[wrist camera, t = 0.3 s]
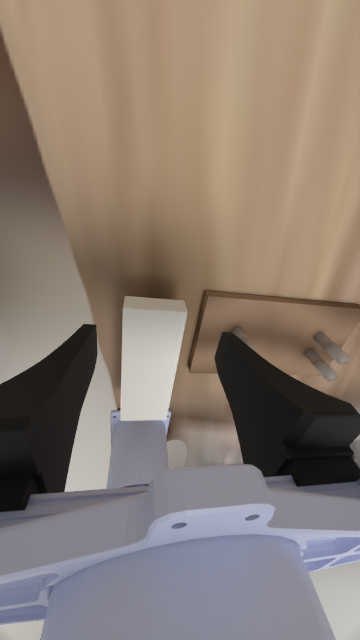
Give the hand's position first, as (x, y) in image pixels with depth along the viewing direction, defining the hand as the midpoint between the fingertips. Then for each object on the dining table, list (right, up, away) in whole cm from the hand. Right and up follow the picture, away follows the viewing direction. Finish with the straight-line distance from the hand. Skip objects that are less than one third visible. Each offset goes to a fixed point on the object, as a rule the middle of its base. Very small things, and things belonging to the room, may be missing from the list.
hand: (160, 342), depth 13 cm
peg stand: (+12, -1, +13) cm, 18 cm away
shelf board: (-2, -3, +10) cm, 10 cm away
